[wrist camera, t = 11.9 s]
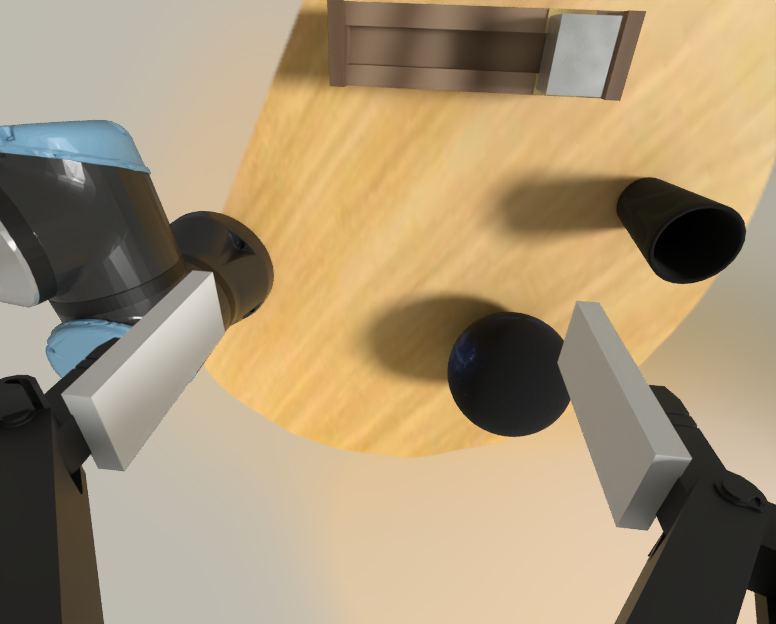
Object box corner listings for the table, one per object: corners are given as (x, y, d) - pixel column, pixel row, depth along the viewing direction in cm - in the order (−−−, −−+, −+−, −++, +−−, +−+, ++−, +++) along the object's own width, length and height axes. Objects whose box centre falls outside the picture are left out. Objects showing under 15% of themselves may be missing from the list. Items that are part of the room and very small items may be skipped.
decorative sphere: (449, 288, 57) (451, 360, 44) (568, 291, 55) (606, 366, 43) (445, 377, 65) (445, 460, 52) (549, 381, 63) (576, 467, 51)
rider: (530, 86, 38) (545, 94, 32) (543, 17, 35) (562, 13, 30) (577, 88, 38) (600, 97, 32) (594, 19, 35) (622, 15, 30)
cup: (678, 156, 46) (745, 189, 35) (684, 221, 49) (748, 268, 39) (600, 183, 48) (643, 223, 38) (612, 244, 51) (654, 294, 41)
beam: (349, 79, 45) (330, 88, 37) (348, 4, 41) (327, -4, 34) (587, 91, 43) (619, 103, 36) (607, 13, 40) (647, 7, 32)
